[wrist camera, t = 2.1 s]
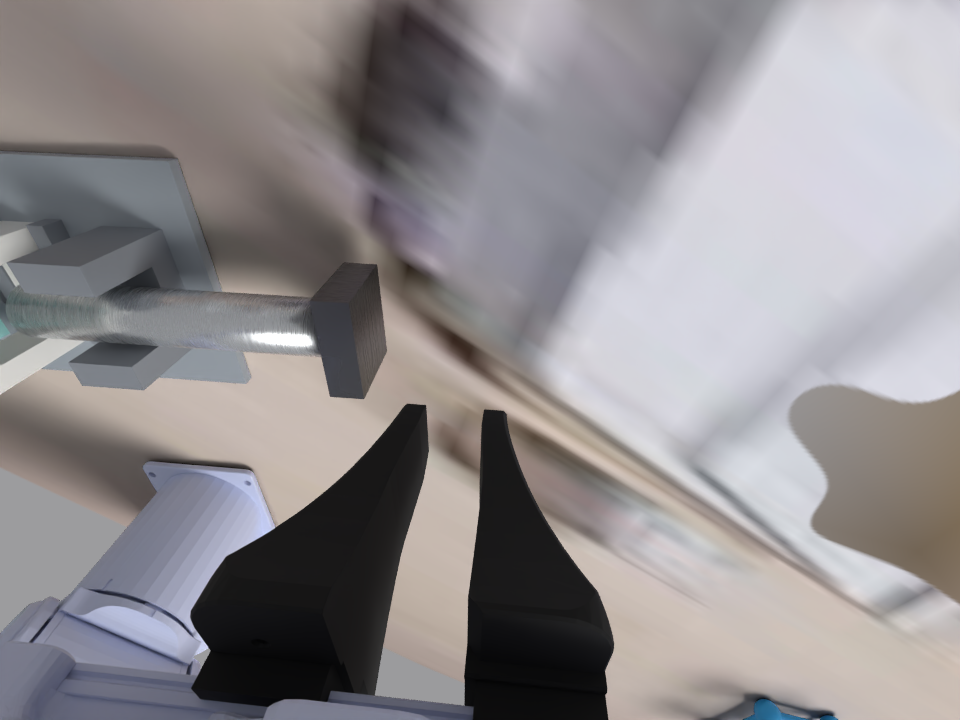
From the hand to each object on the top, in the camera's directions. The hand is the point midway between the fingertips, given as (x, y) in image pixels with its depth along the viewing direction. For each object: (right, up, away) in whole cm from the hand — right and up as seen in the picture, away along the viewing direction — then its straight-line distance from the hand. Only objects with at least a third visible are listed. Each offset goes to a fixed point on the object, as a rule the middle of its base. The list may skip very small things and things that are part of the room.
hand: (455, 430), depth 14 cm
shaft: (-12, +5, +7) cm, 14 cm away
